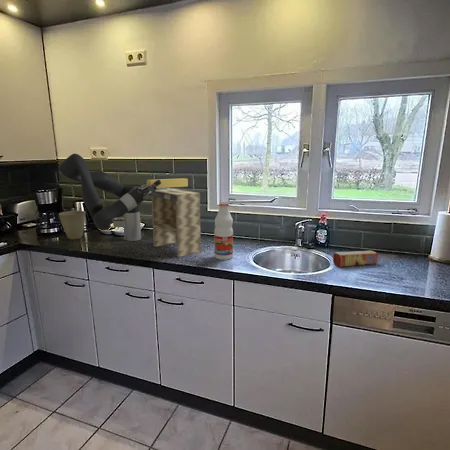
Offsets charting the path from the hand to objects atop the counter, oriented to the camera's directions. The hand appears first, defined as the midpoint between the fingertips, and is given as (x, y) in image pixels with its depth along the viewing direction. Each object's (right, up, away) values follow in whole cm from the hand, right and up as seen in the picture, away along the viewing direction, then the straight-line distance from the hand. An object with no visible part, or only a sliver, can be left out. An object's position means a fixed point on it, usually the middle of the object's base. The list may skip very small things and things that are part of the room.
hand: (157, 181), depth 160 cm
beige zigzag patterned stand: (+7, -35, +17) cm, 40 cm away
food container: (-34, -27, +52) cm, 68 cm away
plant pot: (-60, -30, +38) cm, 77 cm away
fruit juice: (+33, -39, +3) cm, 51 cm away
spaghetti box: (+4, -2, +5) cm, 7 cm away
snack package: (+97, -42, -6) cm, 106 cm away
